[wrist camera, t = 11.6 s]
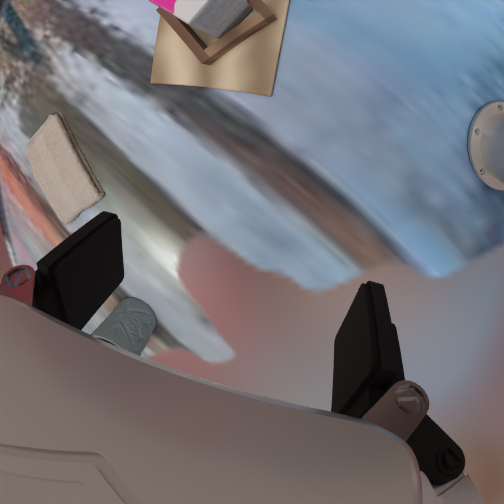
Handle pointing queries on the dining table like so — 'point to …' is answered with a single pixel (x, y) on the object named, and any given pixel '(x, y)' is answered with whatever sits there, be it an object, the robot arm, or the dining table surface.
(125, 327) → the grey green embossed cup
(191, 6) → the supplement box
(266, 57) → the collar holder
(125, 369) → the robot arm
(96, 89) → the dining table surface
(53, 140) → the washcloth
